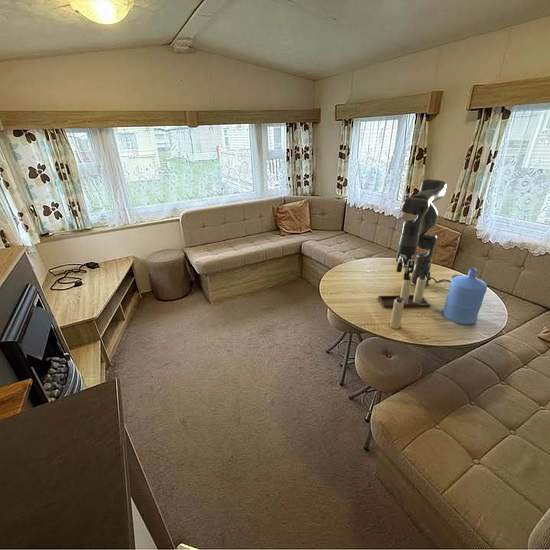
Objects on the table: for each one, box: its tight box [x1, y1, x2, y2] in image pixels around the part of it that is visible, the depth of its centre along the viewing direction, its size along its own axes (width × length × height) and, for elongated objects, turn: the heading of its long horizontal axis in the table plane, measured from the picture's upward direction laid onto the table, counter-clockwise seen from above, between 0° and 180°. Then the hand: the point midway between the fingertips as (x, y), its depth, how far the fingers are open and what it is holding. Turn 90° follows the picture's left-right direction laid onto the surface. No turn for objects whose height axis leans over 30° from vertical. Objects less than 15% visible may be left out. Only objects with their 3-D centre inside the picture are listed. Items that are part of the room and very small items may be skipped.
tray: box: [377, 294, 431, 309], centre depth 172 cm, size 26×11×2 cm, turn 90°
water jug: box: [442, 267, 488, 325], centre depth 153 cm, size 16×16×28 cm
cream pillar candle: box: [389, 297, 404, 330], centre depth 150 cm, size 5×5×16 cm
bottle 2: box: [413, 275, 427, 304], centre depth 169 cm, size 5×5×16 cm
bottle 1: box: [399, 275, 412, 304], centre depth 169 cm, size 5×5×16 cm
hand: (402, 275), depth 141 cm, fingers open, 8 cm apart
